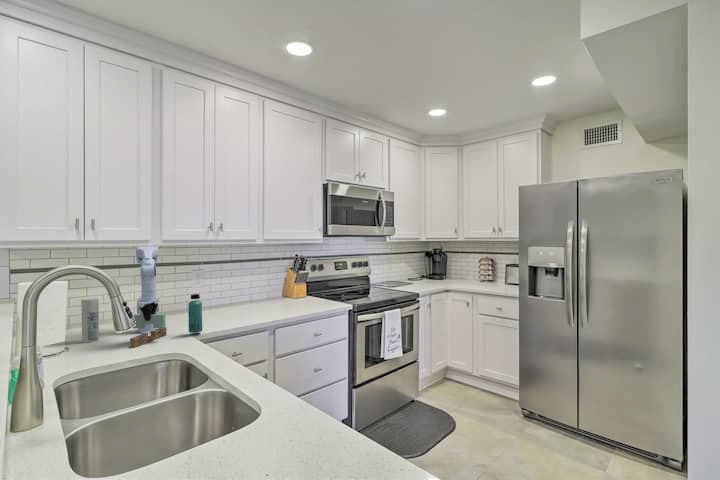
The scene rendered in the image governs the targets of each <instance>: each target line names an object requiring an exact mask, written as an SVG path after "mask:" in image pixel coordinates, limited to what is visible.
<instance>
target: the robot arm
mask: <svg viewBox="0 0 720 480" xmlns="http://www.w3.org/2000/svg"><path fill="white" fill-rule="evenodd" d="M135 250H136V251H135V252H136V253H135V257H136V258H135V259H136V262H137V263H138V264H140V267H139V273H140V282H141V287H140V288H141V296H140V297H138V298H137V302H136V314H137V315H143V316H144V319H145V321H150V319H151V314H157V313H158V312H159V311H160V297H158V296H157V294H156V293H157V292H156V290H157V289H156V284H157V283H156V277H157V272H158V271H157V266H156V263H157V262H158V258H159V247H158V246H157V245H155V246H150V245H149V246H139V245H138V246H136V247H135ZM155 329H158V328H153V324H145V328H137V329H135V330H136V332H138V333H141V334H149V333H151V331H153V330H155Z"/></svg>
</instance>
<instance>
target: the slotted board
mask: <svg viewBox="0 0 720 480" xmlns="http://www.w3.org/2000/svg"><path fill="white" fill-rule="evenodd" d="M163 336H164V337H166V336H167V326H166V327H164V328H157V329H155V330H153V331H151V332H150V335H149V333H144V334H143V333H141V334H139V335H136V336H134V337H131V338H130V339H129V340H130V344H129V346H130V348H132V349H133V348H138V347H141V346H143V345H145V344H148V343H150V342H153V341H156V340H159V339H161V338H163ZM160 337H161V338H160Z"/></svg>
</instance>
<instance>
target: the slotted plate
mask: <svg viewBox="0 0 720 480" xmlns="http://www.w3.org/2000/svg"><path fill="white" fill-rule="evenodd" d="M133 316H134V318H135V321H136V326H135V327H133V326H132V329H138V328H145V324H153V328H157V329H158V328H164V327H166V328H167V326H166V324H167V323H166V314H164V313H163V314H161V313H160V314H159V313H158V314H151V319H150V321H145V319H144V316H143V315H140V314H133V315H132V317H133Z"/></svg>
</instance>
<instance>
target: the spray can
mask: <svg viewBox="0 0 720 480" xmlns="http://www.w3.org/2000/svg"><path fill="white" fill-rule="evenodd" d="M99 301H100V300H99V297H85V298H82V299H81V301H80V302H81V304H80V305H81V306H80V307H81V308H80V309H81V337H82V338H81V339H82V343H84V344H86V343H95V342H98V341H99V340H100V330H99V329H100V327H99V326H100V322H99V321H100V319H99V316H100V314H99V313H100V312H99V311H100V310H99V309H100V308H99V305H100V303H99Z"/></svg>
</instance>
